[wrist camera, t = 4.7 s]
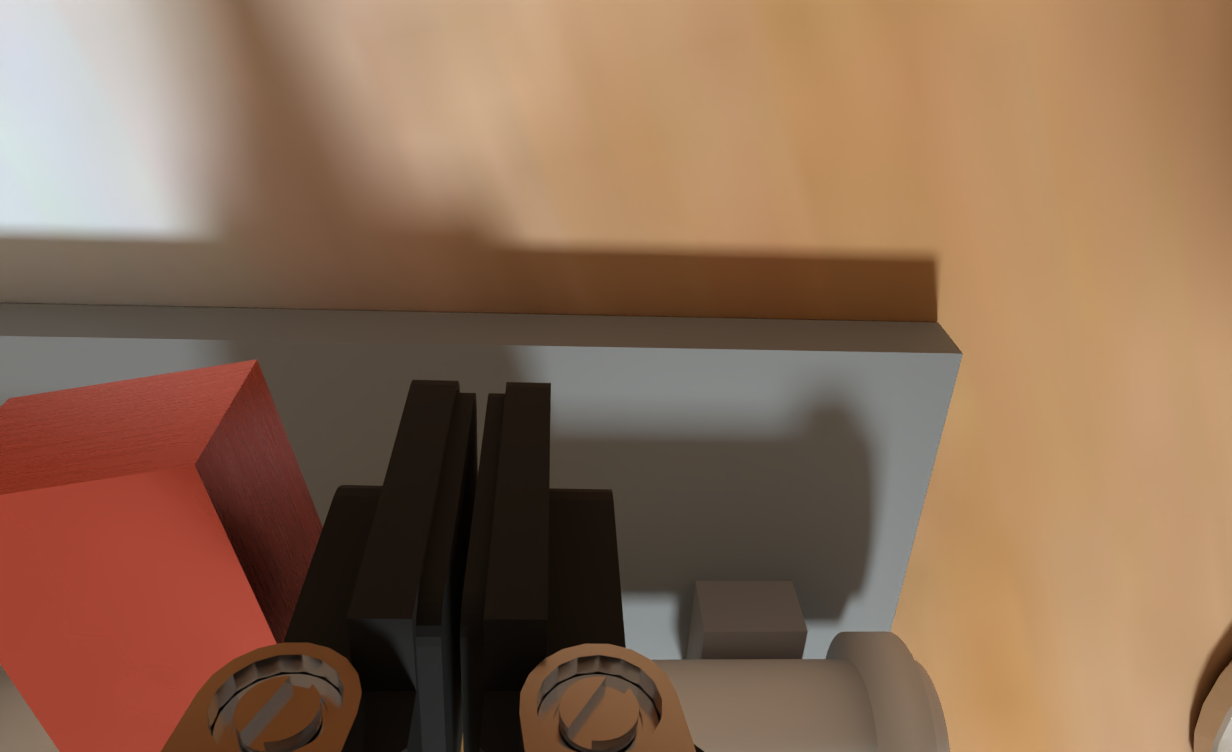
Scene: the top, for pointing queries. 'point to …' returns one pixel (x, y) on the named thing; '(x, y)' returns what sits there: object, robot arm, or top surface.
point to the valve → (625, 476)
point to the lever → (144, 547)
